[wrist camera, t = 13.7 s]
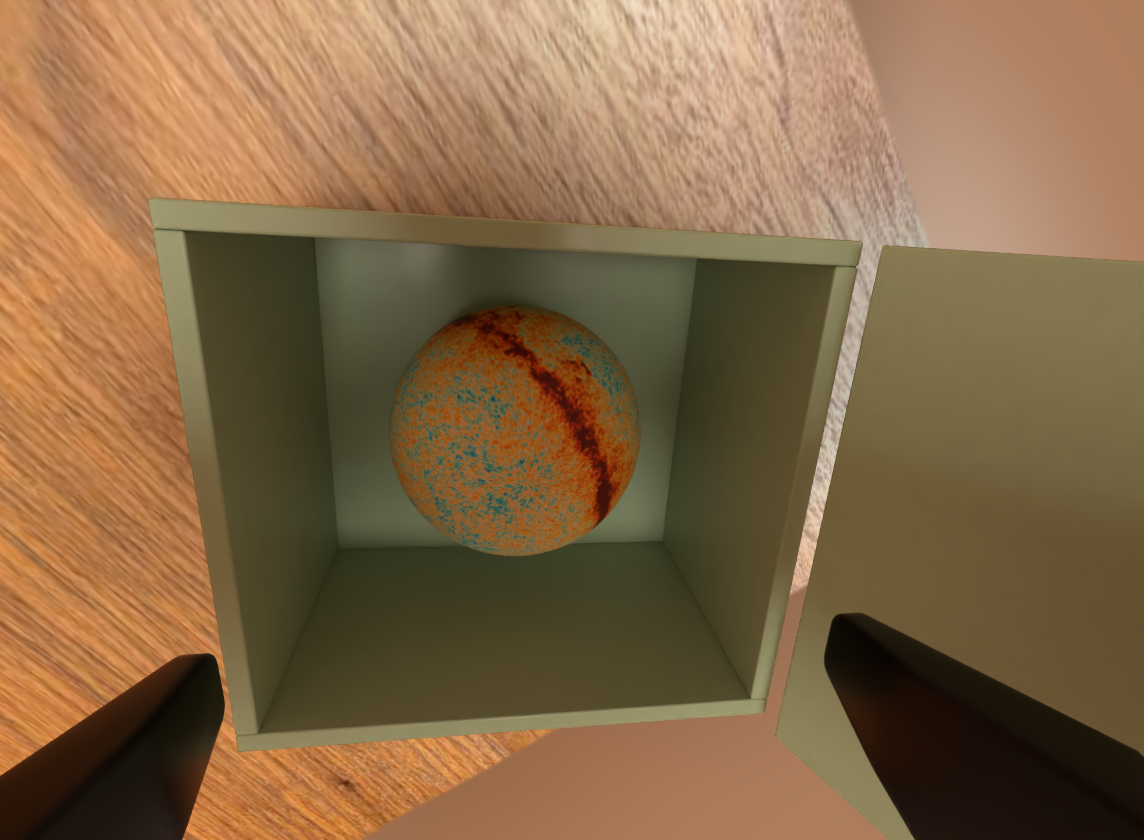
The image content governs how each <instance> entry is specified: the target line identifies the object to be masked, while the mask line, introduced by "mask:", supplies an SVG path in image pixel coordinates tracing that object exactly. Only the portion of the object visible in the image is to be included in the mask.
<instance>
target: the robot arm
mask: <svg viewBox="0 0 1144 840" xmlns="http://www.w3.org/2000/svg"><path fill="white" fill-rule="evenodd" d="M824 666H825V669H826V672H827V675H828V677H829V679H830V681H831V683H832V685H833V687H834V690H835V692H836V694H837V696H838V698H839V700H840V702H841V704H842V706H843V708H844V710H845V713H846V715H847V717H848V719H849V721H850V723H851V725H852V727H853V729H854V731H855V733H856V736H857V738H858V740H859V742H860V744H861V746H862V748H863V750H864V752H865V754H866V756H867V758H868V760H869V762H870V764H871V766H872V768H873V770H874V772H875V773H876V775H877V777H878V779H879V780H880V782H881V784H882V786H883V787H884V789H885V791H886V792H887V794H888V796H889V798H890V799H891V801H892V803H893V804H894V806H895V808H896V809H897V811H898V813H899V814H900V816H901V818H902V820H903V821H904V823H905V825H906V826H907V828H908V830H909V831H910V833H911V835H912V836H913V838H914V840H1144V756H1142V754H1141V753H1140V752H1139V751H1137V750H1135V749H1133V748H1131V747H1129V746H1127V745H1125V744H1123V743H1121V742H1119V741H1117V740H1115V739H1113V738H1111V737H1109V736H1107V735H1105V734H1103V733H1101V732H1099V731H1097V730H1095V729H1093V728H1091V727H1089V726H1087V725H1085V724H1083V723H1081V722H1079V721H1077V720H1075V719H1073V718H1071V717H1069V716H1067V715H1065V714H1063V713H1061V712H1059V711H1057V710H1055V709H1053V708H1051V707H1049V706H1047V705H1045V704H1043V703H1041V702H1039V701H1037V700H1035V699H1033V698H1031V697H1029V696H1027V695H1025V694H1023V693H1021V692H1019V691H1017V690H1015V689H1013V688H1011V687H1009V686H1007V685H1005V684H1003V683H1001V682H999V681H997V680H995V679H993V678H991V677H989V676H987V675H985V674H983V673H981V672H979V671H977V670H976V669H974V668H972V667H970V666H968V665H966V664H964V663H962V662H960V661H958V660H956V659H954V658H952V657H950V656H948V655H946V654H944V653H942V652H940V651H938V650H936V649H934V648H932V647H930V646H928V645H926V644H924V643H922V642H920V641H918V640H916V639H914V638H912V637H910V636H908V635H906V634H904V633H902V632H900V631H898V630H896V629H894V628H892V627H890V626H888V625H886V624H884V623H882V622H880V621H878V620H876V619H874V618H872V617H870V616H868V615H866V614H863V613H859V612H855V613H840V614H837V615H835V616H834V618H833V619H832V622H831V626H830V630H829V635H828V639H827V644H826V648H825V653H824ZM224 709H225V702H224V695H223V690H222V685H221V680H220V674H219V669H218V664H217V661H216V658H215V657H214V656H213V655H211V654H208V653H205V654H189V655H181V656H178V657H176V658H174V659H172V660H171V661H169V662H168V663H166V664H165V665H163V666H162V667H160V668H159V669H158V670H156V671H155V672H153V673H152V674H150V675H149V676H147V677H146V678H144V679H143V680H141V681H140V682H138V683H137V684H135V685H134V686H132V687H131V688H129V689H128V690H127V691H125V692H124V693H122V694H121V695H119V696H118V697H116V698H115V699H113V700H112V701H110V702H109V703H107V704H106V705H104V706H103V707H101V708H100V709H98V710H97V711H95V712H94V713H93V714H91V715H90V716H88V717H87V718H85V719H84V720H82V721H81V722H79V723H78V724H76V725H75V726H73V727H72V728H70V729H69V730H67V731H66V732H64V733H63V734H62V735H60V736H59V737H57V738H56V739H54V740H53V741H51V742H50V743H48V744H47V745H45V746H44V747H42V748H41V749H39V750H38V751H36V752H35V753H33V754H32V755H31V756H29V757H28V758H26V759H25V760H23V761H22V762H20V763H19V764H17V765H16V766H14V767H13V768H11V769H10V770H8V771H7V772H5V773H4V774H2V775H1V776H0V840H182V839H183V836H184V833H185V831H186V828H187V825H188V822H189V819H190V816H191V813H192V810H193V807H194V804H195V801H196V798H197V795H198V792H199V789H200V786H201V783H202V780H203V778H204V775H205V772H206V769H207V766H208V763H209V760H210V757H211V754H212V751H213V748H214V745H215V742H216V739H217V736H218V733H219V730H220V727H221V724H222V720H223V716H224Z"/></svg>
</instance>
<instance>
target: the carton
mask: <svg viewBox="0 0 1144 840" xmlns="http://www.w3.org/2000/svg"><path fill="white" fill-rule="evenodd" d="M148 204H149V210H150V217H151V223H152V226H153V228H156V230H154V231H153V235H154V241H155V247H156V253H157V259H158V265H159V271H160V277H161V283H162V290H163V296H164V302H165V308H166V314H167V320H168V326H169V332H170V338H171V344H172V350H173V356H174V363H175V369H176V375H177V381H178V387H179V393H180V399H181V405H182V411H183V417H184V423H185V429H186V436H187V442H188V448H189V454H190V460H191V466H192V472H193V478H194V484H195V490H196V496H197V502H198V509H199V515H200V521H201V527H202V533H203V539H204V545H205V551H206V557H207V563H208V569H209V575H210V582H211V588H212V594H213V600H214V606H215V612H216V618H217V624H218V630H219V636H220V642H221V648H222V655H223V661H224V667H225V673H226V679H227V685H228V691H229V697H230V703H231V709H232V715H233V721H234V728H235V734H236V735H237V736H236V740H237V746H238V751H239V752H246V751H259V750H273V749H286V748H299V747H313V746H326V745H340V744H353V743H367V742H380V741H393V740H407V739H420V738H434V737H447V736H461V735H474V734H487V733H501V732H514V731H528V730H541V729H555V728H568V727H580V726H595V725H608V724H621V723H635V722H648V721H662V720H675V719H689V718H702V717H715V716H728V715H742V714H755V713H764V712H765V709H766V704H767V697H768V694H769V690H770V684H771V679H772V675H773V671H774V665H775V661H776V656H777V651H778V647H779V642H780V637H781V632H782V628H783V623H784V618H785V613H786V608H787V604H788V599H789V594H790V589H791V585H792V580H793V575H794V570H795V565H796V561H797V556H798V551H799V546H800V542H801V537H802V532H803V527H804V522H805V518H806V513H807V508H808V503H809V499H810V494H811V489H812V484H813V479H814V475H815V470H816V465H817V460H818V456H819V451H820V446H821V441H822V436H823V432H824V427H825V422H826V417H827V413H828V408H829V403H830V398H831V393H832V389H833V384H834V379H835V374H836V370H837V365H838V360H839V355H840V350H841V346H842V341H843V336H844V331H845V327H846V322H847V317H848V312H849V307H850V303H851V298H852V293H853V288H854V284H855V279H856V274H857V268H856V266H858V264H859V260H860V255H861V250H862V245H863V243H862V242H861V241H850V240H834V239H817V238H801V237H785V236H769V235H753V234H737V233H721V232H704V231H688V230H672V229H656V228H640V227H624V226H607V225H591V224H575V223H559V222H543V221H527V220H511V219H494V218H478V217H462V216H446V215H430V214H414V213H397V212H381V211H365V210H349V209H333V208H317V207H301V206H284V205H268V204H252V203H236V202H220V201H204V200H187V199H171V198H155V197H151V198H149V199H148ZM506 305H524V306H533V307H539V308H544V309H548V310H551V311H555V312H558V313H560V314H563V315H565V316H567V317H569V318H571V319H573V320H575V321H577V322H579V323H581V324H582V325H584V326H585V327H587V328H588V329H590V330H591V331H592V332H593V333H595V334H596V335H597V336H598V337H599V338H601V339H602V340H603V341H604V342H605V343H606V344H607V345H608V347H609V348H610V349H611V350H612V351H613V352H614V354H615V355H616V356H617V358H618V359H619V361H620V362H621V364H622V365H623V367H624V369H625V371H626V372H627V374H628V376H629V378H630V381H631V383H632V386H633V388H634V391H635V394H636V398H637V402H638V407H639V412H640V422H641V439H640V448H639V454H638V459H637V463H636V466H635V469H634V472H633V475H632V478H631V480H630V482H629V484H628V486H627V488H626V490H625V492H624V494H623V496H622V497H621V499H620V500H619V502H618V503H617V504H616V506H615V507H614V508H613V510H612V511H611V512H610V513H609V514H608V515H607V516H606V518H605V519H604V520H603V521H601V522H600V523H599V524H598V525H597V526H596V527H595V528H593V529H592V530H591V531H589V532H588V533H587V534H585V535H584V536H582V537H581V538H579V539H577V540H575V541H573V542H572V543H570V544H567V545H565V546H563V547H560V548H558V549H555V550H552V551H548V553H546V552H544V553H540V554H534V555H526V556H503V555H495V554H489V553H485V552H481V551H478V550H474V549H472V548H469V547H466V546H464V545H462V544H460V543H458V542H456V541H454V540H452V539H450V538H449V537H447V536H446V535H444V534H443V533H441V532H440V531H438V530H437V529H436V528H435V527H433V526H432V525H431V524H430V523H429V522H428V521H427V520H426V519H425V518H424V517H423V516H422V515H421V514H420V513H419V512H418V510H417V509H416V508H415V507H414V505H413V504H412V503H411V501H410V500H409V498H408V497H407V495H406V493H405V491H404V490H403V488H402V486H401V484H400V481H399V479H398V477H397V474H396V471H395V468H394V465H393V461H392V457H391V451H390V444H389V418H390V410H391V405H392V401H393V397H394V394H395V390H396V388H397V385H398V383H399V380H400V378H401V376H402V374H403V372H404V370H405V368H406V367H407V365H408V363H409V362H410V360H411V359H412V358H413V356H414V355H415V354H416V352H417V351H418V350H419V349H420V348H421V346H422V345H423V344H424V343H425V342H426V341H427V340H428V339H429V338H431V337H432V336H433V335H434V334H435V333H436V332H438V331H439V330H440V329H442V328H443V327H445V326H446V325H448V324H449V323H451V322H453V321H455V320H457V319H458V318H461V317H463V316H465V315H467V314H470V313H473V312H475V311H479V310H482V309H486V308H491V307H497V306H506Z"/></svg>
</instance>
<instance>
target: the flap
mask: <svg viewBox="0 0 1144 840" xmlns="http://www.w3.org/2000/svg"><path fill="white" fill-rule="evenodd" d="M855 612H859V613H863V614H866V615H868V616H870V617H872V618H874V619H876V620H878V621H880V622H882V623H884V624H886V625H888V626H890V627H892V628H894V629H896V630H898V631H900V632H902V633H904V634H906V635H908V636H910V637H912V638H914V639H916V640H918V641H920V642H922V643H924V644H926V645H928V646H930V647H932V648H934V649H936V650H938V651H940V652H942V653H944V654H946V655H948V656H950V657H952V658H954V659H956V660H958V661H960V662H962V663H964V664H966V665H968V666H970V667H972V668H974V669H976V670H977V671H979V672H981V673H983V674H985V675H987V676H989V677H991V678H993V679H995V680H997V681H999V682H1001V683H1003V684H1005V685H1007V686H1009V687H1011V688H1013V689H1015V690H1017V691H1019V692H1021V693H1023V694H1025V695H1027V696H1029V697H1031V698H1033V699H1035V700H1037V701H1039V702H1041V703H1043V704H1045V705H1047V706H1049V707H1051V708H1053V709H1055V710H1057V711H1059V712H1061V713H1063V714H1065V715H1067V716H1069V717H1071V718H1073V719H1075V720H1077V721H1079V722H1081V723H1083V724H1085V725H1087V726H1089V727H1091V728H1093V729H1095V730H1097V731H1099V732H1101V733H1103V734H1105V735H1107V736H1109V737H1111V738H1113V739H1115V740H1117V741H1119V742H1121V743H1123V744H1125V745H1127V746H1129V747H1131V748H1133V749H1135V750H1137V751H1139V752H1140V753H1141V754H1142V756H1144V262H1139V261H1124V260H1108V259H1091V258H1077V257H1061V256H1044V255H1028V254H1013V253H998V252H982V251H981V252H980V251H966V250H950V249H934V248H919V247H903V246H887V245H885V246H883V247H882V250H881V255H880V260H879V264H878V269H877V273H876V278H875V282H874V287H873V291H872V296H871V300H870V305H869V310H868V314H867V319H866V323H865V328H864V332H863V337H862V341H861V346H860V350H859V355H858V360H857V364H856V369H855V373H854V378H853V382H852V387H851V391H850V396H849V400H848V405H847V410H846V414H845V419H844V423H843V428H842V432H841V437H840V441H839V446H838V450H837V455H836V460H835V464H834V469H833V473H832V478H831V482H830V487H829V491H828V496H827V500H826V505H825V510H824V514H823V519H822V523H821V528H820V532H819V537H818V541H817V546H816V550H815V555H814V560H813V564H812V569H811V573H810V578H809V582H808V587H807V591H806V596H805V601H804V605H803V610H802V614H801V619H800V623H799V628H798V633H797V637H796V641H795V646H794V651H793V655H792V660H791V664H790V669H789V674H788V678H787V682H786V687H785V691H784V696H783V701H782V705H781V710H780V714H779V719H778V724H777V728H776V732H775V736H776V738H777V739H778V740H779V741H780V742H782V743H783V744H784V745H785V746H786V747H787V748H788V749H789V750H790V751H792V752H793V753H794V754H795V755H796V756H797V757H798V758H799V759H800V760H801V761H803V762H804V763H805V764H806V765H807V766H808V767H809V768H810V769H811V770H813V771H814V772H815V773H816V774H817V775H818V776H819V777H820V778H821V779H823V780H824V781H825V782H826V783H827V784H828V785H829V786H830V787H831V788H832V789H834V790H835V791H836V792H837V793H838V794H839V795H840V796H841V797H842V798H843V799H844V800H846V801H847V802H848V803H849V804H850V805H851V806H852V807H853V808H855V809H856V810H857V811H858V812H859V813H860V814H861V815H862V816H863V817H864V818H866V819H867V820H868V821H869V822H870V823H871V824H872V825H873V826H874V827H875V828H876V829H878V830H879V831H880V832H881V833H882V834H883V835H884V836H885V837H886V838H888V839H889V840H914V838H913V836H912V835H911V833H910V831H909V830H908V828H907V826H906V825H905V823H904V821H903V820H902V818H901V816H900V814H899V813H898V811H897V809H896V808H895V806H894V804H893V803H892V801H891V799H890V798H889V796H888V794H887V792H886V791H885V789H884V787H883V786H882V784H881V782H880V780H879V779H878V777H877V775H876V773H875V772H874V770H873V768H872V766H871V764H870V762H869V760H868V758H867V756H866V754H865V752H864V750H863V748H862V746H861V744H860V742H859V740H858V738H857V736H856V733H855V731H854V729H853V727H852V725H851V723H850V721H849V719H848V717H847V715H846V713H845V710H844V708H843V706H842V704H841V702H840V700H839V698H838V696H837V694H836V692H835V690H834V687H833V685H832V683H831V681H830V679H829V677H828V675H827V672H826V669H825V666H824V653H825V648H826V644H827V639H828V635H829V630H830V626H831V622H832V619H833V618H834V616H835V615H837V614H840V613H855Z"/></svg>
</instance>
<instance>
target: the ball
mask: <svg viewBox="0 0 1144 840" xmlns="http://www.w3.org/2000/svg"><path fill="white" fill-rule="evenodd" d="M640 439H641V422H640V412H639V407H638V402H637V398H636V394H635V391H634V388H633V386H632V383H631V381H630V378H629V376H628V374H627V372H626V371H625V369H624V367H623V365H622V364H621V362H620V361H619V359H618V358H617V356H616V355H615V354H614V352H613V351H612V350H611V349H610V348H609V347H608V345H607V344H606V343H605V342H604V341H603V340H602V339H601V338H599V337H598V336H597V335H596V334H595V333H593V332H592V331H591V330H590V329H588V328H587V327H585V326H584V325H582V324H581V323H579V322H577V321H575V320H573V319H571V318H569V317H567V316H565V315H563V314H560V313H558V312H555V311H551V310H548V309H544V308H539V307H533V306H524V305H506V306H497V307H491V308H486V309H482V310H479V311H475V312H473V313H470V314H467V315H465V316H463V317H461V318H458V319H457V320H455V321H453V322H451V323H449V324H448V325H446V326H445V327H443V328H442V329H440V330H439V331H438V332H436V333H435V334H434V335H433V336H432V337H431V338H429V339H428V340H427V341H426V342H425V343H424V344H423V345H422V346H421V348H420V349H419V350H418V351H417V352H416V354H415V355H414V356H413V358H412V359H411V360H410V362H409V363H408V365H407V367H406V368H405V370H404V372H403V374H402V376H401V378H400V380H399V383H398V385H397V388H396V390H395V394H394V397H393V401H392V405H391V410H390V418H389V444H390V451H391V457H392V461H393V465H394V468H395V471H396V474H397V477H398V479H399V481H400V484H401V486H402V488H403V490H404V491H405V493H406V495H407V497H408V498H409V500H410V501H411V503H412V504H413V505H414V507H415V508H416V509H417V510H418V512H419V513H420V514H421V515H422V516H423V517H424V518H425V519H426V520H427V521H428V522H429V523H430V524H431V525H432V526H433V527H435V528H436V529H437V530H438V531H440V532H441V533H443V534H444V535H446V536H447V537H449V538H450V539H452V540H454V541H456V542H458V543H460V544H462V545H464V546H466V547H469V548H472V549H474V550H478V551H481V552H485V553H489V554H495V555H503V556H526V555H534V554H540V553H544V552H546V553H548V551H552V550H555V549H558V548H560V547H563V546H565V545H567V544H570V543H572V542H573V541H575V540H577V539H579V538H581V537H582V536H584V535H585V534H587V533H588V532H589V531H591V530H592V529H593V528H595V527H596V526H597V525H598V524H599V523H600V522H601V521H603V520H604V519H605V518H606V516H607V515H608V514H609V513H610V512H611V511H612V510H613V508H614V507H615V506H616V504H617V503H618V502H619V500H620V499H621V497H622V496H623V494H624V492H625V490H626V488H627V486H628V484H629V482H630V480H631V478H632V475H633V472H634V469H635V466H636V463H637V459H638V454H639V448H640Z"/></svg>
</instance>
